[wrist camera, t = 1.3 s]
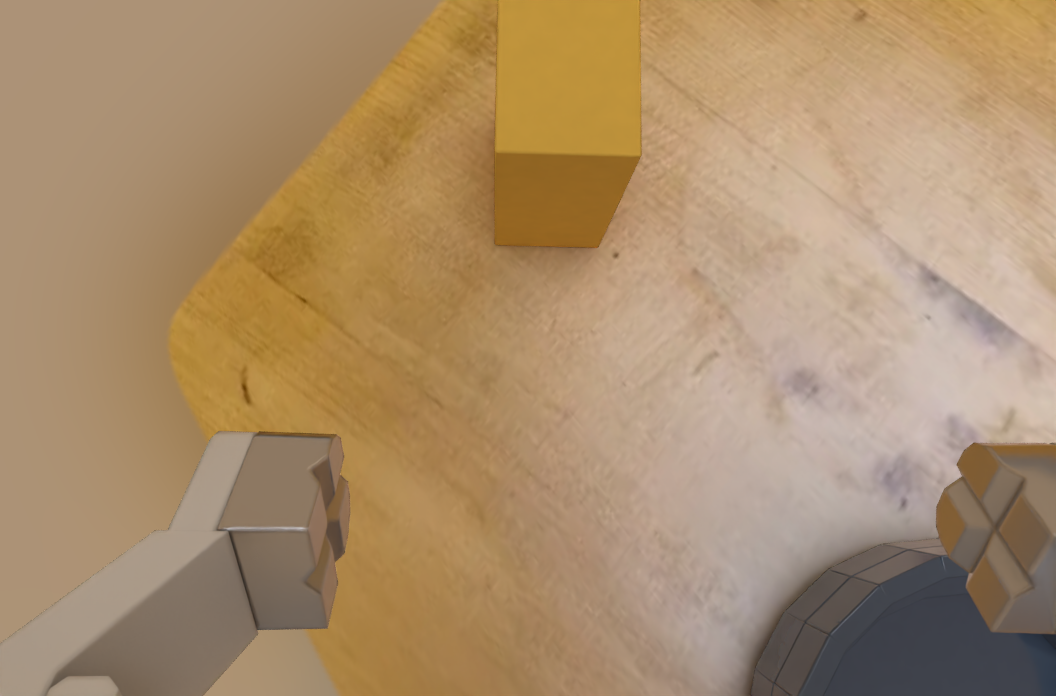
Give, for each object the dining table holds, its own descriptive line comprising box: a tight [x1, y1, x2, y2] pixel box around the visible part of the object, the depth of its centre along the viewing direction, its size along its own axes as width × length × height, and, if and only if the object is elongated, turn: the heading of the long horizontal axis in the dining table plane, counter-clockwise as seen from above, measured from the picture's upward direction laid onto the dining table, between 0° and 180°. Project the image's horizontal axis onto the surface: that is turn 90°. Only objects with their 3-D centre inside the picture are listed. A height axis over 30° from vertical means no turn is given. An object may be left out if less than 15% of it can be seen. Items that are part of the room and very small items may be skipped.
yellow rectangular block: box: [494, 0, 642, 248], centre depth 29 cm, size 4×6×10 cm
